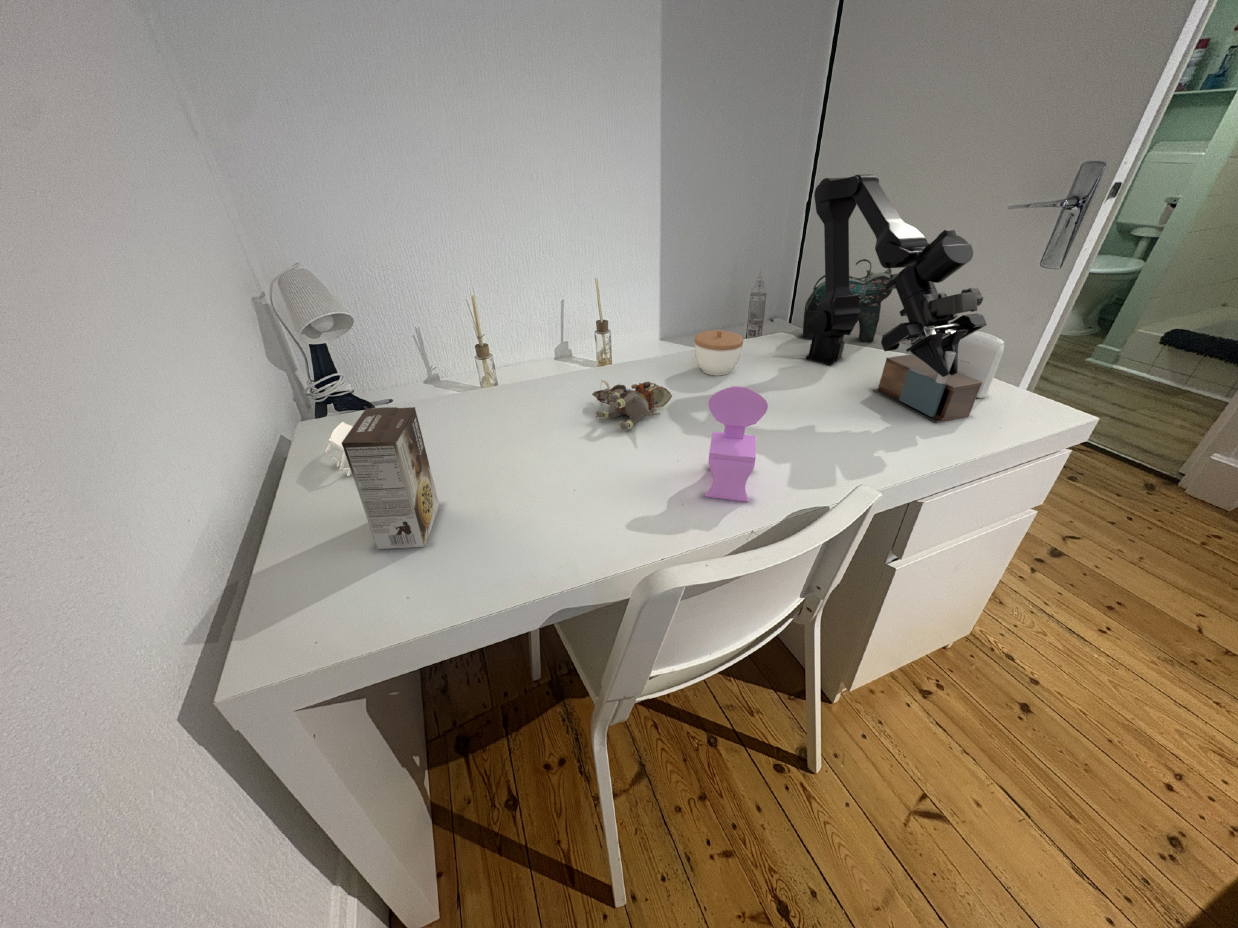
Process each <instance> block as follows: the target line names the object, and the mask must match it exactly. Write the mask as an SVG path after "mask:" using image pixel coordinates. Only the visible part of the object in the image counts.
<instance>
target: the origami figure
mask: <svg viewBox="0 0 1238 928" xmlns="http://www.w3.org/2000/svg"><path fill="white" fill-rule="evenodd" d="M353 426H354V425H351V424H348V423H346V422H345V421H342V422H341V423H339V424H338V425H337V426H336V427H335V428H334V429H333V430H332V432H331V435H330V438H329V439H328V445H327V447H326V448H325V451H324V453H325V454H327V455H328V456H329V457H330V458H332V459H334V460H336V462H337V463H336V467H337V468H338V470H339V471H347V474H346V476H347V477H349V476H351V474H352V472H351V469H350V467H345V463H346V455H345V452H344V449H343V446H342V444H341V443H342V442H343V440H344V439H345V437H346V436H347V434H348V433H349V432H350V430H351V429H352V427H353ZM332 446H333V447H335V448H336V449H338V450H340V451H342V455H341V456H342V457H341V462H340V459H338V458H337V457H335V456H334V455H333V454H331V453H330V452H329V451H330V449H331V447H332Z"/></svg>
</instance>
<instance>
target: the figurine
mask: <svg viewBox="0 0 1238 928" xmlns="http://www.w3.org/2000/svg"><path fill="white" fill-rule="evenodd" d="M602 383H604V384H605V386H606V387H607V388H604V389H602V386H599V390H594V392H592V393H591V396H593V397H595V398H596V400H597V401H599V402H600V403H603V404H606V405H608V406H609V407H608V408H609V409H610V411H612V412H608V411H602V412H601V411H600V410H599V409H595V410H596V411H595V412H594V414H595V418H603V419H608V418H617V417H620V416H622V415H625V416H627V417H629V418H628V419H626V421H622V420H619V422H618V426H619V427H618V428H619V429H628V430H629V429H633V425H634V424H636V423H637V422H638V421H640V420H642V418H644V417H645V416H647V417H653V416H657V415H661V412H656V411H657V409H655V408H661V407H665V406H666V405H667V404H668V403H669V402H670V400H672V397H673V395H672V394H671V391H669V390H668V389H667V388H666V387H664V386H661V385H659V384H656V383H654V382H650V381H644V382H639V383H638V384H637V383H634V384H631V386H630V387H631V389H629V388H627V387H626V384H625V385H624V384H620V383H619V384H616V385H613V386H612V387H611V386H610V384H609V382H607V381H605V380H601V381H600V385H602ZM652 411H655V412H652Z"/></svg>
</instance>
